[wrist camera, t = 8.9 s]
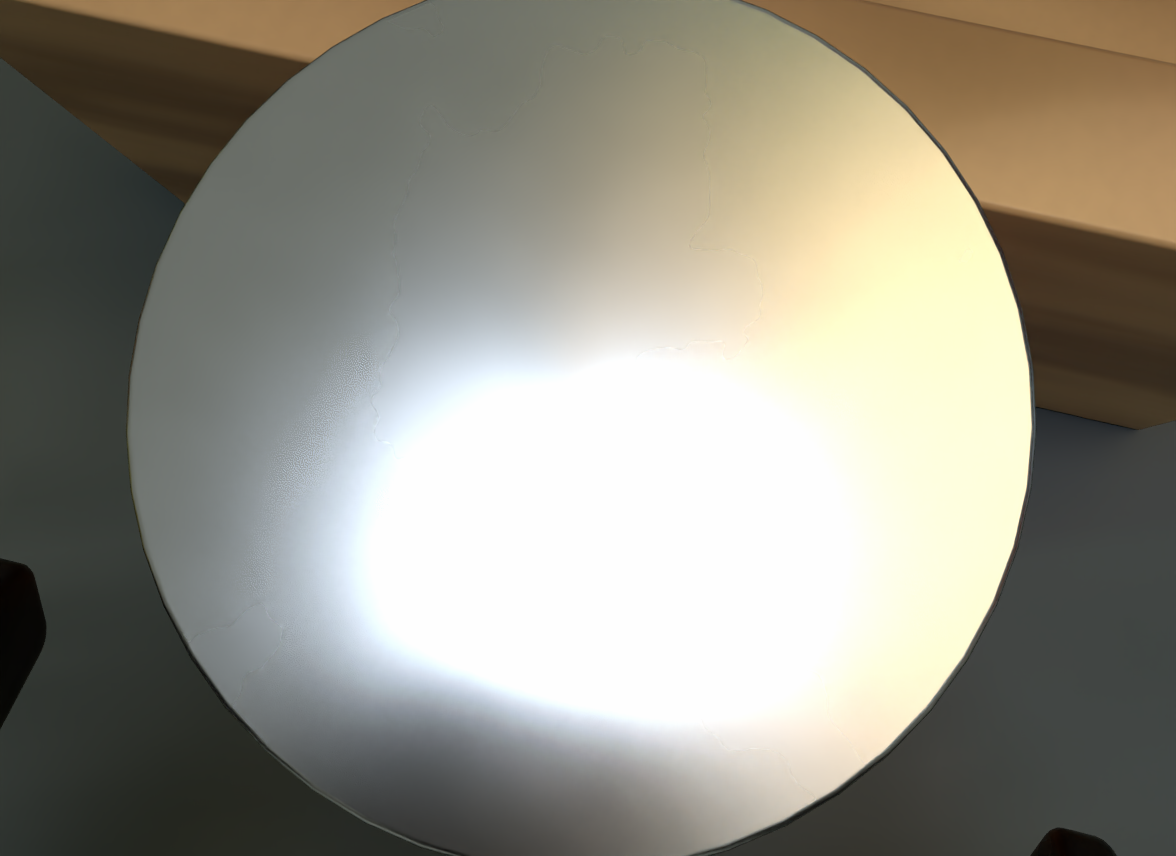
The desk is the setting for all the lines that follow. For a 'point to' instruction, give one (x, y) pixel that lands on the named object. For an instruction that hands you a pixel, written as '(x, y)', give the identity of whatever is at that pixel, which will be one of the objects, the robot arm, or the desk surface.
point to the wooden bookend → (853, 26)
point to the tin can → (581, 425)
